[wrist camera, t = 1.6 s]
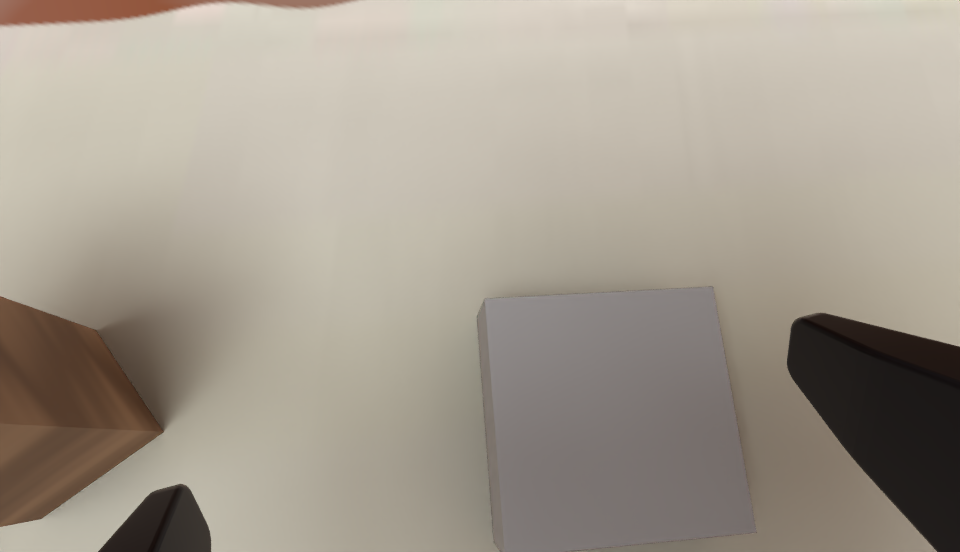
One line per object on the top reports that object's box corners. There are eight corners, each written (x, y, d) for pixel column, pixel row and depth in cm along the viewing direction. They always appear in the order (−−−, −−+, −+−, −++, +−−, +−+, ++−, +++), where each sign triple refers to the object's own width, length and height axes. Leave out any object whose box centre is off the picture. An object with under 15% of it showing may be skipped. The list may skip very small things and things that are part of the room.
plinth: (713, 521, 22) (756, 532, 19) (493, 542, 21) (505, 557, 19) (678, 305, 24) (712, 286, 21) (476, 316, 23) (484, 298, 21)
